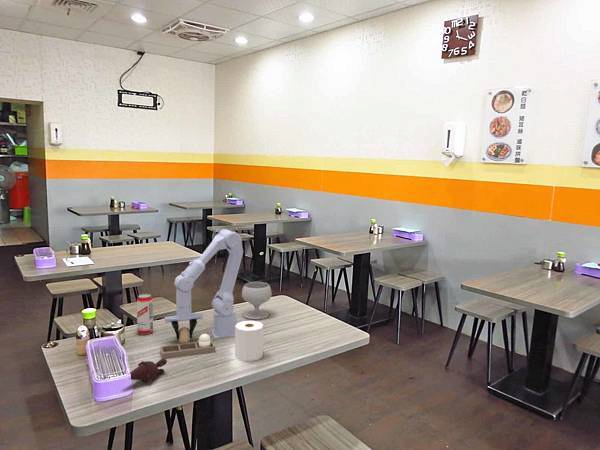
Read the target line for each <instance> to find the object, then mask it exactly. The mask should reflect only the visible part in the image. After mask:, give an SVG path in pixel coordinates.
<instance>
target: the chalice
mask: <svg viewBox="0 0 600 450" xmlns="http://www.w3.org/2000/svg"><path fill="white" fill-rule="evenodd" d="M272 296H273V294H272V288H271V285H270V284H269V283H268V282H263V281H251V282H250V281H249V282H247V283H245V284H244V285H243V287H242V291H241V297H242V299H243V300H244V301H245V302H246V303H249V304H251V305H252V306H253V307H254V310H248V311H245V312H244V314H243V317H244V318H245V319H249V320H263V319H267V318H268V317H270V313H269V312H267V311H266V310H265V311H264V310H259V309H260V306H261V305H263V304H264V303H266V302H268V301H269V300H270V299H271V298H272Z"/></svg>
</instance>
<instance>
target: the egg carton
mask: <svg viewBox="0 0 600 450" xmlns="http://www.w3.org/2000/svg"><path fill="white" fill-rule="evenodd" d="M212 353H216V346H215V344H214V341H213V340H212V339H210V347H206V348H199V341H193V342H187V343H177V344H170V345H160V351H159V354H160V360H161V359H166V360H168V359H175V358H182V357H190V356H191V357H192V356H198V355H204V354H205V355H206V354H212Z"/></svg>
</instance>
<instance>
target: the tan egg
mask: <svg viewBox="0 0 600 450" xmlns="http://www.w3.org/2000/svg"><path fill="white" fill-rule="evenodd" d="M190 341H191V338H190V328H188V327H186V326H182V327H180V328H179V340H178V343H179V344H185V343H190Z"/></svg>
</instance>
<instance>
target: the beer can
mask: <svg viewBox="0 0 600 450" xmlns="http://www.w3.org/2000/svg"><path fill="white" fill-rule="evenodd" d="M153 299H154V298H153V297H152V294H149V293H142V294H138V296H137V298H136V319H137V320H136V321H137V327H136V328H137V333H138V334H139V335H141V336H146V335H151V334H152V332H154V305H153V303H154V301H153Z"/></svg>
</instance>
